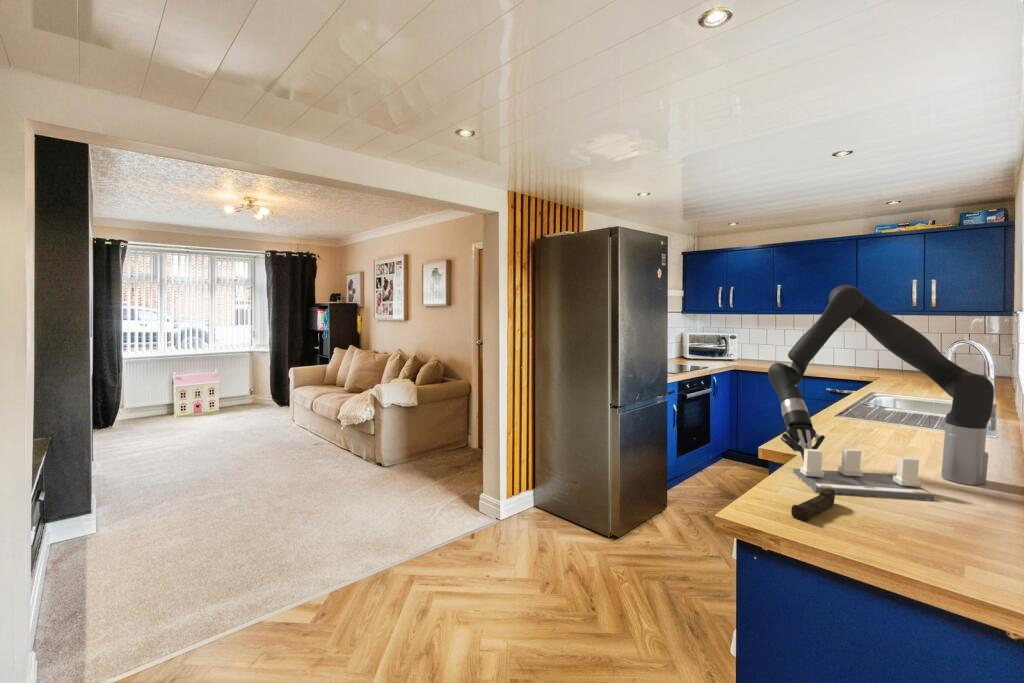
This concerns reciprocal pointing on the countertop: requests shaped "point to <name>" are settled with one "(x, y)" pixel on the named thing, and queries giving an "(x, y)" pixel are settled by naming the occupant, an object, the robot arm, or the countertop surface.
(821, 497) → the hand tool
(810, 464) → the far tab
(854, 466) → the middle tab
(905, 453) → the countertop surface
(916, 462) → the near tab
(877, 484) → the switch bank
